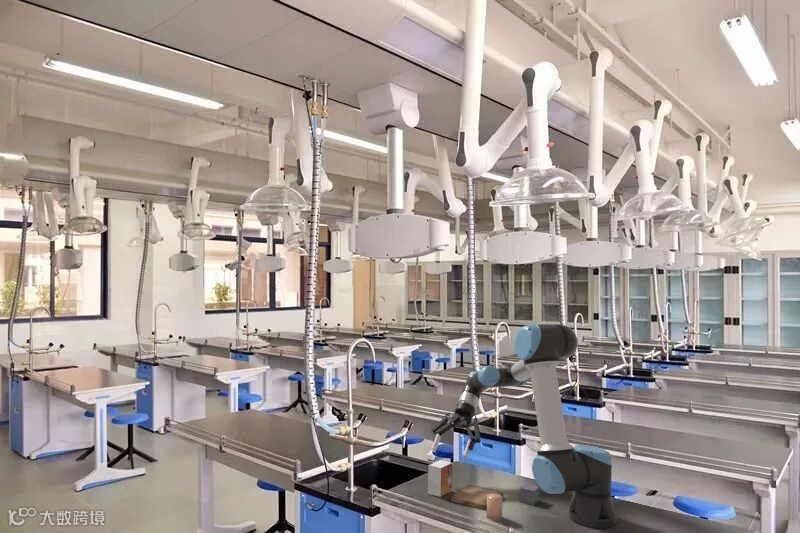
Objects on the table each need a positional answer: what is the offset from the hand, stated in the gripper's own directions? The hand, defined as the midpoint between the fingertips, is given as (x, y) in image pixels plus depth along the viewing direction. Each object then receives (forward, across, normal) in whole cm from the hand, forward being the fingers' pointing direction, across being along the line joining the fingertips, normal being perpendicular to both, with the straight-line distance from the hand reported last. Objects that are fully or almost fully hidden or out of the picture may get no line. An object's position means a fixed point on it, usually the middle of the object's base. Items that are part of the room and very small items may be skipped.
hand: (448, 453), depth 212 cm
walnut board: (+13, -15, -4) cm, 20 cm away
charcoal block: (+6, -31, -11) cm, 33 cm away
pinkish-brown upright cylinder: (+20, -26, +4) cm, 33 cm away
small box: (+14, -1, -3) cm, 15 cm away
